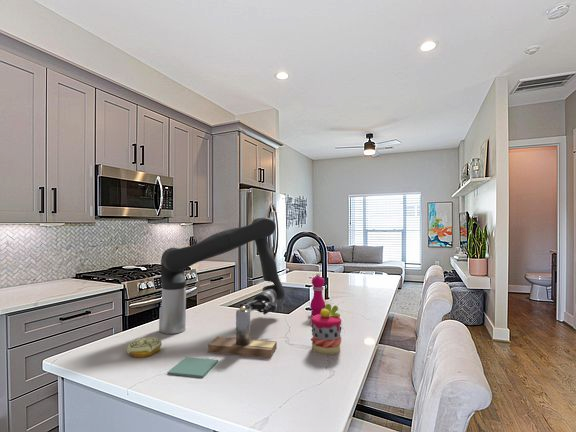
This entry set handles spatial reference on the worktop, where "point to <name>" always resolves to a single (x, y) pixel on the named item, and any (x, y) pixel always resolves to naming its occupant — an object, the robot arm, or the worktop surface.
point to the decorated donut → (144, 347)
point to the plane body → (243, 347)
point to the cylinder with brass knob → (243, 326)
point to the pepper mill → (317, 295)
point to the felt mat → (193, 367)
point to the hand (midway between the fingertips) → (253, 311)
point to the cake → (326, 331)
